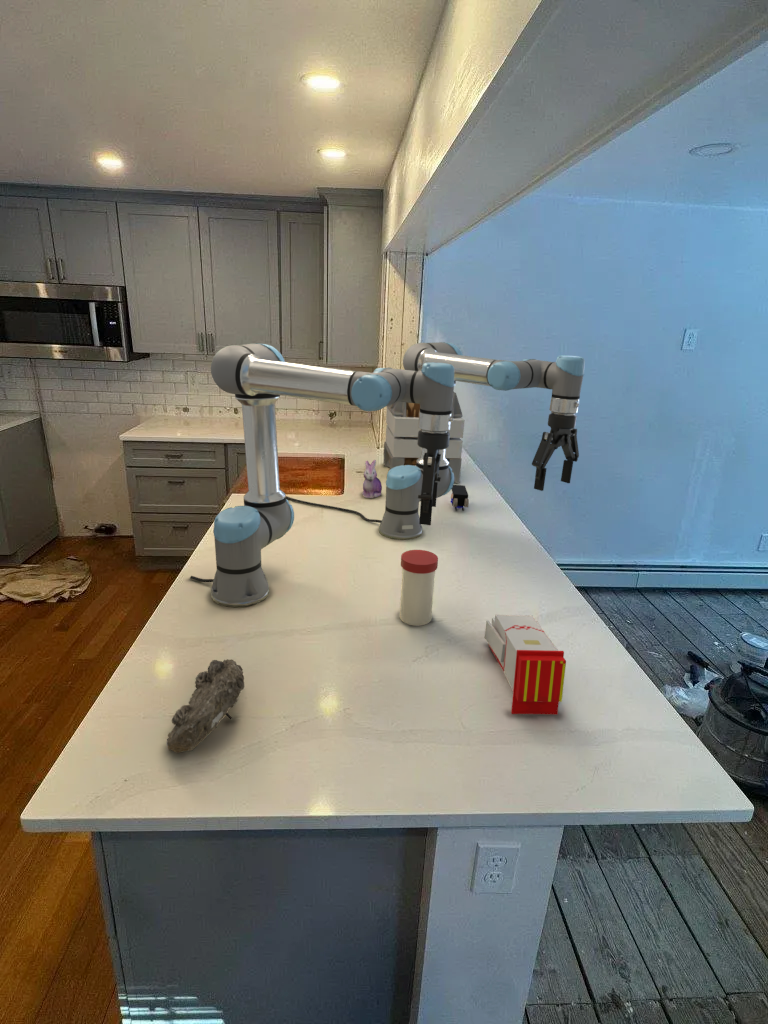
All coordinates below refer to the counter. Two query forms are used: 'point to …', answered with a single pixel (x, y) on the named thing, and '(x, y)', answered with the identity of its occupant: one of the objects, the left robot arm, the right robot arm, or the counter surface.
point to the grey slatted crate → (405, 436)
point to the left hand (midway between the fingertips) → (427, 514)
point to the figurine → (371, 481)
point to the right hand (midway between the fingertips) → (552, 485)
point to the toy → (527, 663)
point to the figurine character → (459, 497)
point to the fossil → (206, 705)
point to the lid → (419, 561)
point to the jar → (416, 597)
